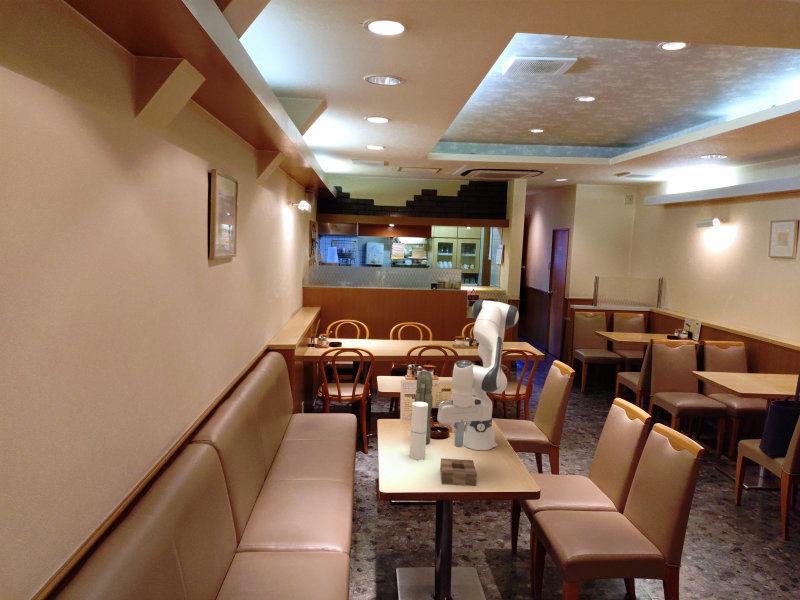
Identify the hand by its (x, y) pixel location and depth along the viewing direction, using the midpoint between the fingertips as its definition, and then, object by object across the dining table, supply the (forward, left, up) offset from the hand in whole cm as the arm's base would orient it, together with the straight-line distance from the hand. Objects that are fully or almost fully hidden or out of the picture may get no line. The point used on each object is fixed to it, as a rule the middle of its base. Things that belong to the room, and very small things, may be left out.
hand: (459, 431), depth 228 cm
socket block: (0, 0, -20) cm, 20 cm away
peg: (0, 0, -6) cm, 6 cm away
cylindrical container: (-19, -17, -20) cm, 32 cm away
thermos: (-38, -15, -20) cm, 45 cm away
